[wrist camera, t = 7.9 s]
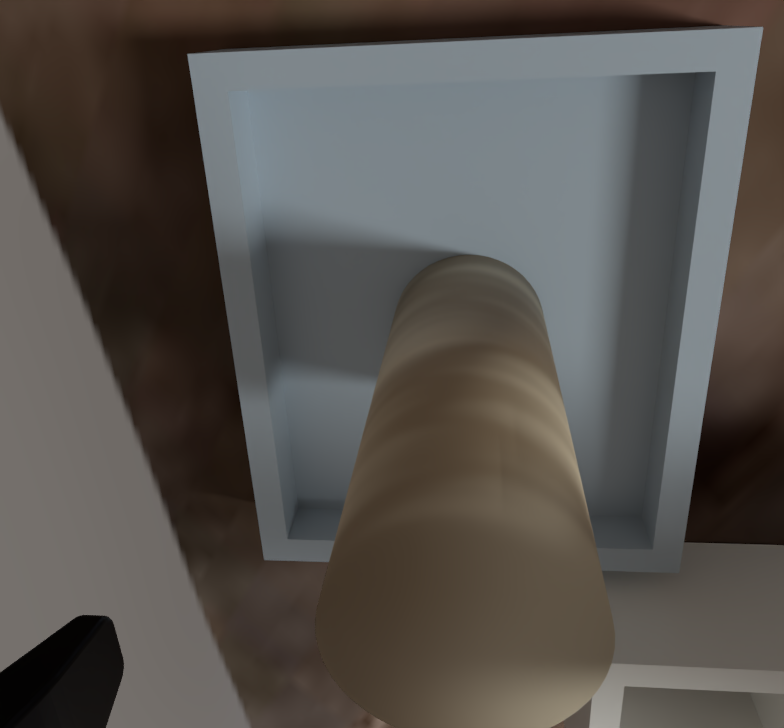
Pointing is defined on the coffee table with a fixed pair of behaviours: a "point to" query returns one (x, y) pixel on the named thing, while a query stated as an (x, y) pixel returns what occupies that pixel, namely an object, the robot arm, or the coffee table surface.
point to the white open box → (696, 643)
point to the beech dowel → (466, 522)
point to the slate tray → (479, 244)
